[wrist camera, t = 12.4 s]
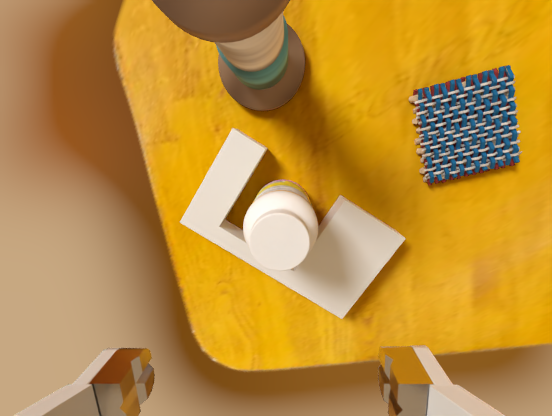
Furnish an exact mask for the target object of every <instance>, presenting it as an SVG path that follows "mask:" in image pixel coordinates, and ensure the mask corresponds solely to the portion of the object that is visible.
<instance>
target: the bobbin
mask: <svg viewBox="0 0 552 416" xmlns="http://www.w3.org/2000/svg"><path fill="white" fill-rule="evenodd" d="M152 1H153V2H154V4H155V5H156V6H157V7H158V8H159V9H160V10H161V11H162V12H163V13H164V14H165V15H166V16H167V17H168V18H169V19H170V20H171V21H172V22H173V23H174V24H175V25H177V26H178V27H179V28H181V29H182V30H183V31H185V32H187V33H189V34H190V35H192V36H195V37H197V38H200V39H202V40H206V41H210V42H215V44H216V46H217V49H218V52H219V59H218V65H219V73H220V77H221V80H222V82H223V85H224V87H225V88H226V90H227V91H228V93H229V94H230V95H231V96H232V97H233V98H234V99H235V100H236V101H237V102H239V103H240V104H241V105H243V106H245V107H247V108H249V109H252V110H257V111H268V110H273V109H276V108H279V107H281V106H283V105H284V104H286V103H287V102H288V101H289V100H290V99H291V98H292V97H293V96H294V95H295V94H296V92H297V91H298V89H299V87H300V85H301V82H302V79H303V75H304V69H305V55H304V50H303V46H302V44H301V41H300V39H299V37H298V36H297V34H296V33H295V31H294V30H293V29H292V28H291V27H290V26H289V25H288V24H287V23H286V20H285V18H284V16H283V11H284V9H285V8H286V6H287V4H288V3H289V1H290V0H152Z"/></svg>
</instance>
